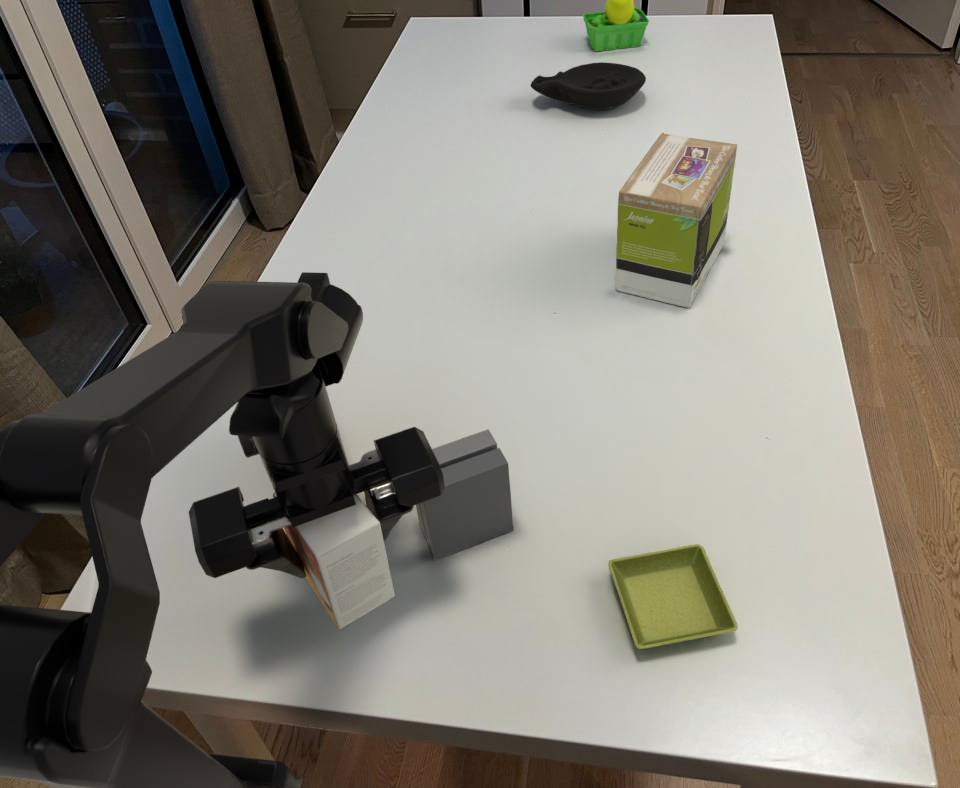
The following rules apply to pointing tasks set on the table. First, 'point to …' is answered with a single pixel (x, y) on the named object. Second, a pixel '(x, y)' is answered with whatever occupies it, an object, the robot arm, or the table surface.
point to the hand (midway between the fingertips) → (340, 559)
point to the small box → (345, 561)
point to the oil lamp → (592, 85)
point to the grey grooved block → (468, 496)
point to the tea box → (673, 218)
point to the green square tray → (671, 596)
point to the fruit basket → (616, 26)
